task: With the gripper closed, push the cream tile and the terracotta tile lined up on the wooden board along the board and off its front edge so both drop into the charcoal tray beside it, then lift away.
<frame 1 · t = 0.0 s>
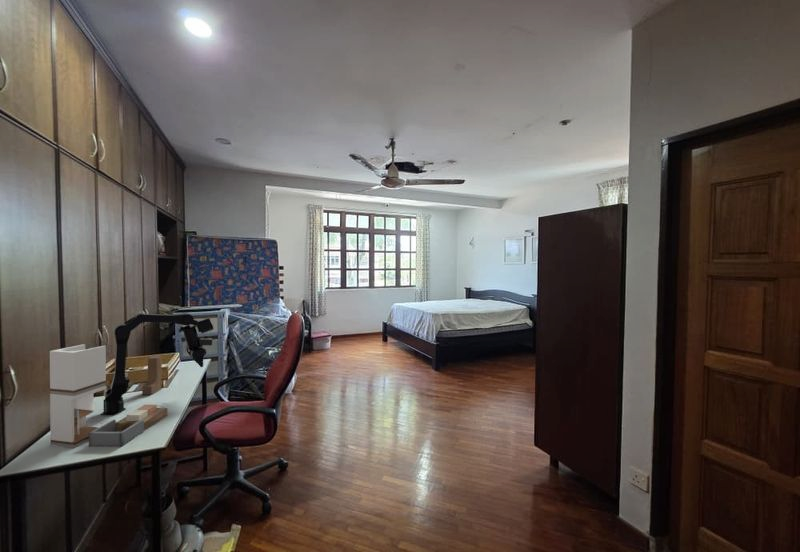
hand: (200, 364, 177), 15 cm above the table, tool pointing down, fingers open, 9 cm apart
wooden board: (142, 423, 144), on the table
cream tile: (137, 418, 141), point 3 cm above the table, touching wooden board
wooden block: (152, 392, 180), on the table
terracotta tile: (146, 412, 147), point 3 cm above the table, touching wooden board
white dispenser tower: (79, 439, 131), on the table
charcoal tray: (117, 439, 131), on the table
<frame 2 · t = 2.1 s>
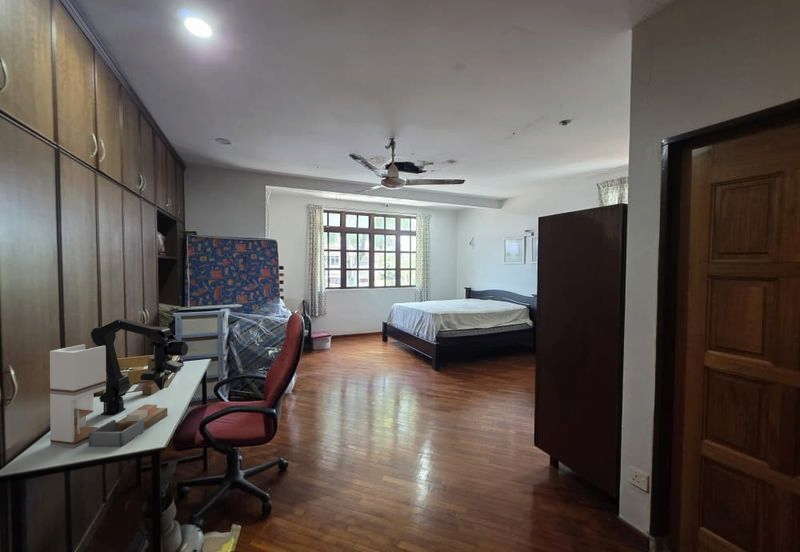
hand: (161, 389, 156), 10 cm above the table, tool pointing down, fingers closed
nothing on the table moved.
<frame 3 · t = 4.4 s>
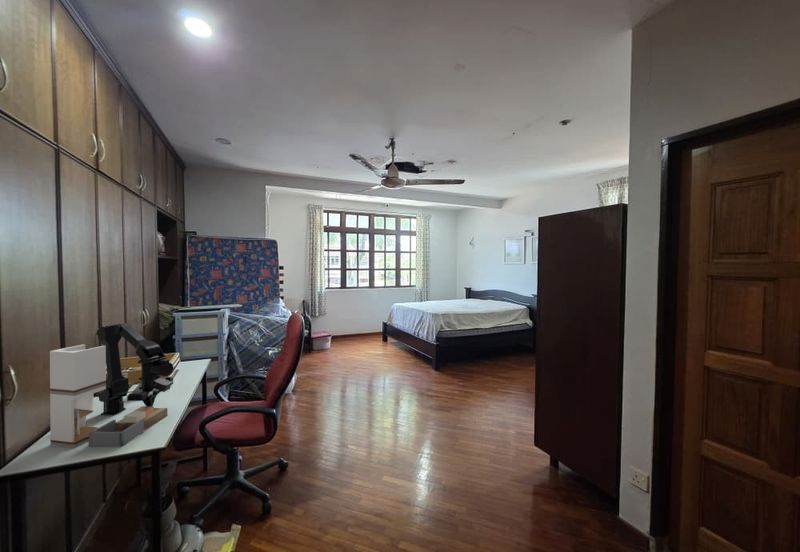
hand: (149, 409, 149), 4 cm above the table, tool pointing down, fingers closed
cream tile: (134, 419, 140), point 4 cm above the table, touching terracotta tile
terracotta tile: (143, 414, 145), point 4 cm above the table, touching cream tile, gripper, wooden board
everything else where it was.
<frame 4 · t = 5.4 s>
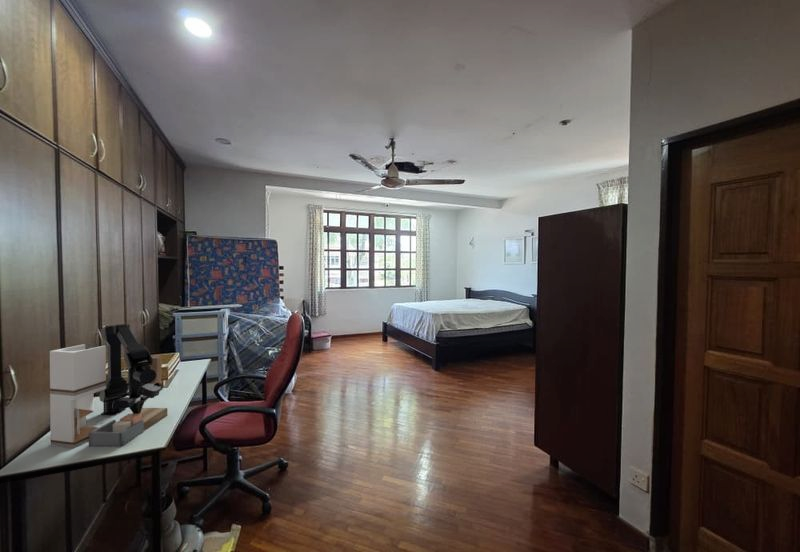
hand: (137, 416, 141), 4 cm above the table, tool pointing down, fingers closed
cream tile: (124, 427, 134), point 3 cm above the table, tilted 92°, touching charcoal tray
terracotta tile: (131, 422, 138), point 4 cm above the table, touching gripper, wooden board
everything else where it was.
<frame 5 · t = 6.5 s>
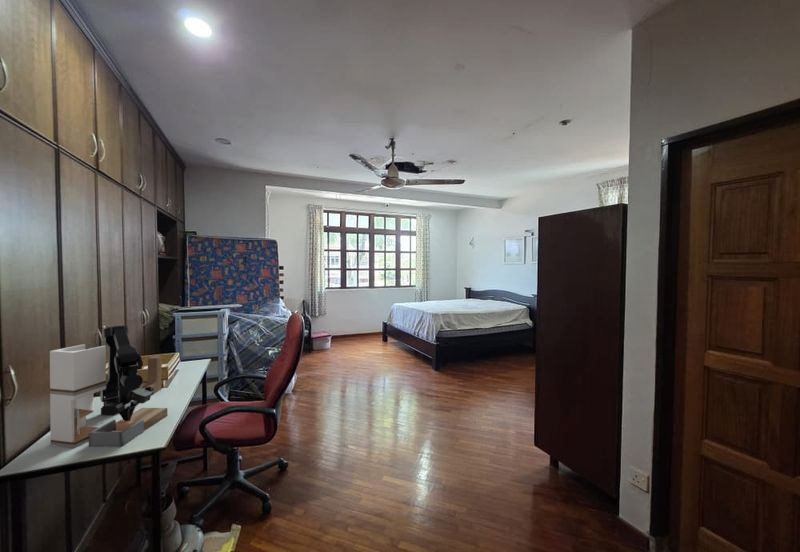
hand: (127, 422, 136), 4 cm above the table, tool pointing down, fingers closed
cream tile: (114, 433, 129), point 3 cm above the table, tilted 180°, touching charcoal tray
terracotta tile: (127, 427, 135), point 3 cm above the table, tilted 90°, touching charcoal tray
everything else where it was.
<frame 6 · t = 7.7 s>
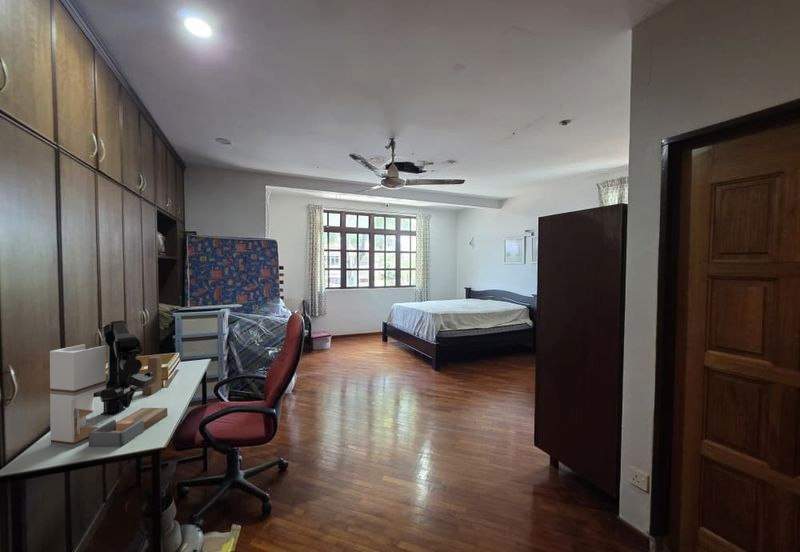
hand: (127, 407, 136), 10 cm above the table, tool pointing down, fingers closed
nothing on the table moved.
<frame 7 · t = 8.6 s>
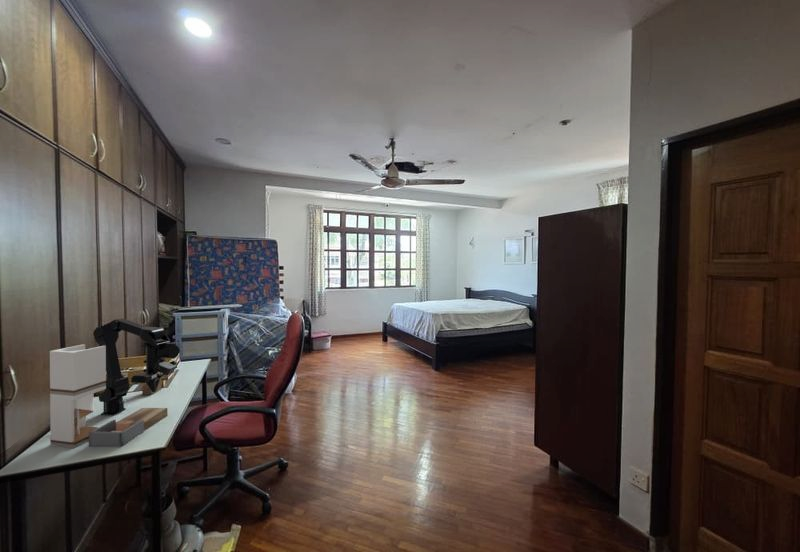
hand: (154, 391, 151), 11 cm above the table, tool pointing down, fingers closed
nothing on the table moved.
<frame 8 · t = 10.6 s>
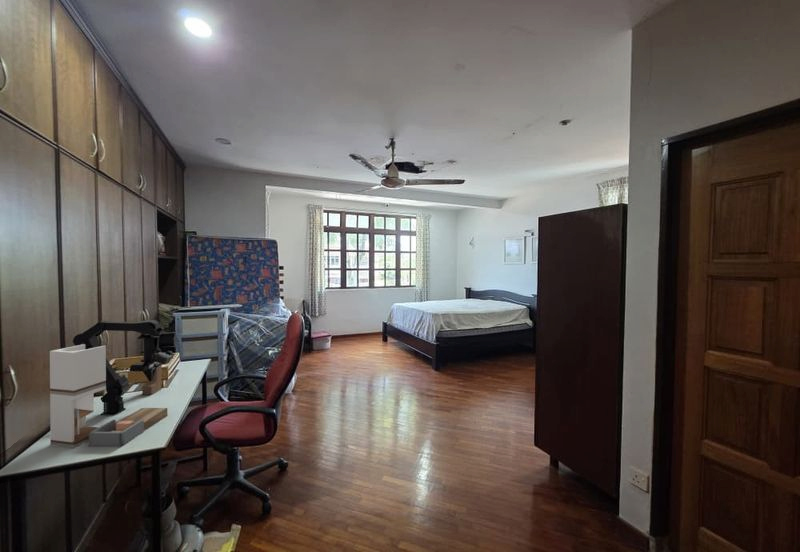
hand: (150, 381, 159), 13 cm above the table, tool pointing down, fingers closed
nothing on the table moved.
at the end: cream tile inside the target area (2.3 cm from its centre), point 2.9 cm above the table; terracotta tile inside the target area (3.4 cm from its centre), point 2.9 cm above the table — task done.
